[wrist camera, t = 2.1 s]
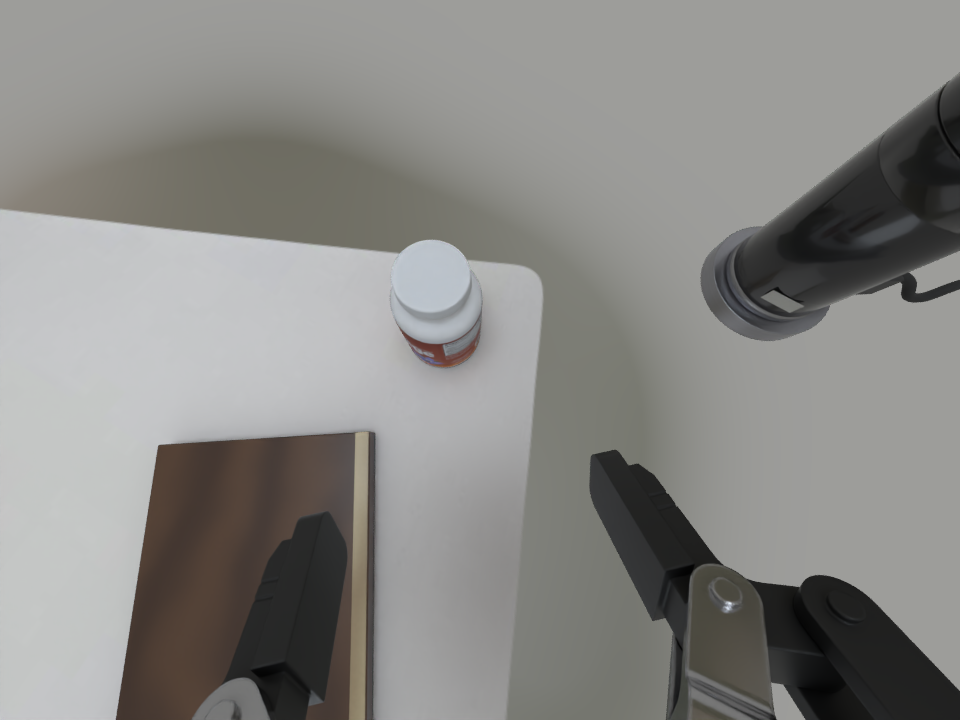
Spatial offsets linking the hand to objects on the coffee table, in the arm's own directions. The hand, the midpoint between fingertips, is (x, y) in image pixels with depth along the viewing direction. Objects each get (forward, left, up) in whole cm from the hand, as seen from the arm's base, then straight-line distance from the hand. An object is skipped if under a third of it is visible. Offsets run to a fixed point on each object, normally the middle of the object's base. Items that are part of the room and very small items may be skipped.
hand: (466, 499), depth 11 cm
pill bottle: (+2, -11, -18) cm, 22 cm away
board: (+16, +8, -18) cm, 25 cm away
